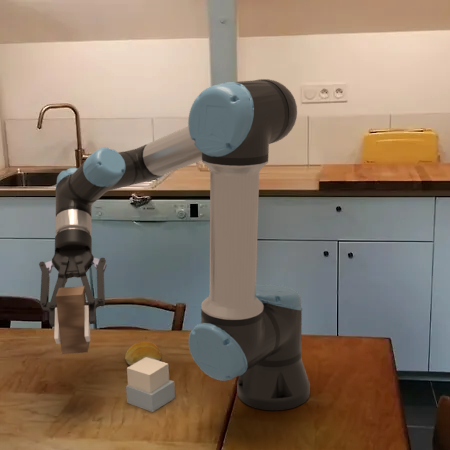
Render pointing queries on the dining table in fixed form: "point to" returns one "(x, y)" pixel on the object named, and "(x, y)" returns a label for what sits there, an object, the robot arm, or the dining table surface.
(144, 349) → the bread roll
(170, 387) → the tower base
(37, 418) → the dining table surface
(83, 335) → the pillar
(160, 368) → the tower top
